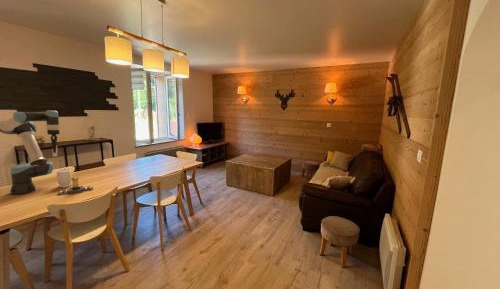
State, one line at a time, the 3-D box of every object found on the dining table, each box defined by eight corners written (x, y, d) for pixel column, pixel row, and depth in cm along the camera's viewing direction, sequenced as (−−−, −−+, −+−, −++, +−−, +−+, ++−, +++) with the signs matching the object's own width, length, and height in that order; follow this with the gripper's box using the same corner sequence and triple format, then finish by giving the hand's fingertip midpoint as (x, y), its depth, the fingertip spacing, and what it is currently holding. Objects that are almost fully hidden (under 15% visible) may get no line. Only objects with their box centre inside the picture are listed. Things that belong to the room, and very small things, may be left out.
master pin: (72, 190, 190) (71, 177, 188) (79, 189, 193) (78, 177, 191) (72, 192, 186) (71, 179, 184) (79, 191, 189) (78, 178, 187)
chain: (58, 192, 186) (58, 189, 185) (92, 187, 200) (92, 184, 200) (58, 195, 178) (57, 192, 178) (92, 190, 193) (92, 187, 192)
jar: (54, 188, 193) (53, 172, 191) (61, 184, 203) (60, 168, 200) (68, 187, 196) (67, 171, 194) (74, 183, 206) (73, 168, 203)
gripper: (48, 127, 184) (50, 151, 188) (46, 131, 165) (48, 158, 169) (59, 127, 189) (61, 151, 193) (59, 131, 170) (60, 157, 174)
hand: (55, 154), depth 181 cm, fingers open, 13 cm apart
